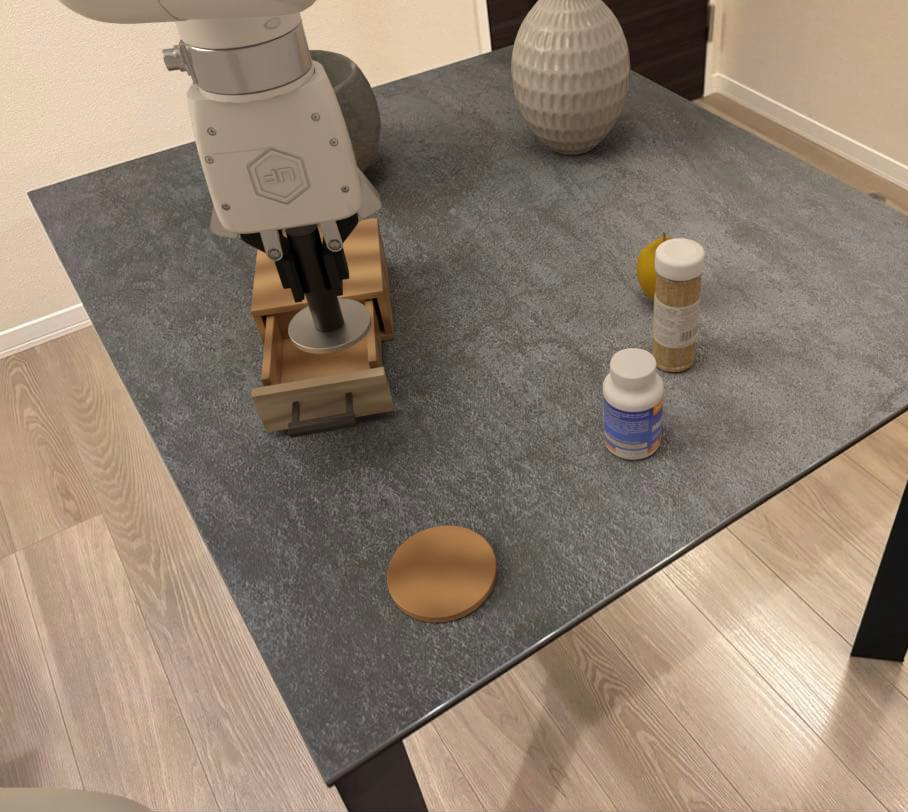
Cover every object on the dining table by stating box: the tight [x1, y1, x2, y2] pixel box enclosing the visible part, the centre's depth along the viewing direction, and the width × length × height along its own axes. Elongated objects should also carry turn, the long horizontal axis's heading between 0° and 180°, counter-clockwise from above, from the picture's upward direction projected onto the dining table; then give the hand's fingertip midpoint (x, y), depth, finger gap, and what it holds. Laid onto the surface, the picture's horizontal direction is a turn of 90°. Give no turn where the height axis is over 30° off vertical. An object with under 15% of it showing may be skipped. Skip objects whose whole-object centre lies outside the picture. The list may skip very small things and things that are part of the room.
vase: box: [510, 0, 631, 156], centre depth 112 cm, size 16×16×22 cm
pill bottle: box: [602, 347, 665, 461], centre depth 74 cm, size 5×5×10 cm
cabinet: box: [250, 217, 395, 346], centre depth 93 cm, size 15×14×7 cm
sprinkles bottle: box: [651, 237, 706, 373], centre depth 81 cm, size 5×5×14 cm
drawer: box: [251, 298, 395, 439], centre depth 82 cm, size 18×12×5 cm
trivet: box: [386, 524, 498, 624], centre depth 68 cm, size 9×9×1 cm
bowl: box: [309, 49, 382, 173], centre depth 112 cm, size 21×21×15 cm
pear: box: [636, 231, 674, 302], centre depth 90 cm, size 6×6×8 cm
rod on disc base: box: [285, 224, 371, 354], centre depth 66 cm, size 7×7×10 cm
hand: (319, 287), depth 66 cm, fingers closed on rod on disc base, 2 cm apart
